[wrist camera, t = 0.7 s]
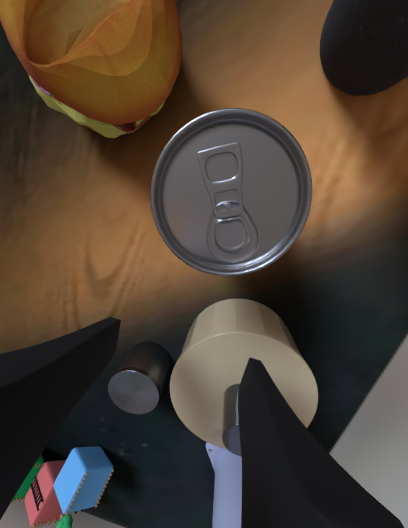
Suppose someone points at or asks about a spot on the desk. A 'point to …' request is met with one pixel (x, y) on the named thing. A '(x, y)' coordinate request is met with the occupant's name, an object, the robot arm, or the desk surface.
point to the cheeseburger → (98, 57)
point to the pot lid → (235, 382)
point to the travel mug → (365, 45)
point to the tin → (140, 378)
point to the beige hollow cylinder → (238, 320)
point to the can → (231, 192)
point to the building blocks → (65, 486)
